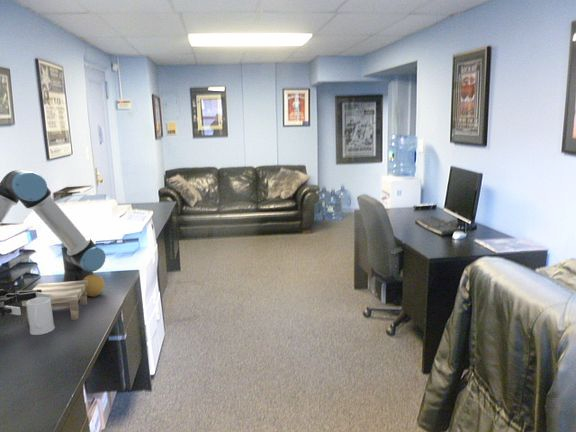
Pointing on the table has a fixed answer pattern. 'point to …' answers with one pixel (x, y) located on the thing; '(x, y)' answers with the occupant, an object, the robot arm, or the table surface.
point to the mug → (40, 315)
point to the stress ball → (94, 285)
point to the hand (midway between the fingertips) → (35, 304)
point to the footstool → (64, 295)
